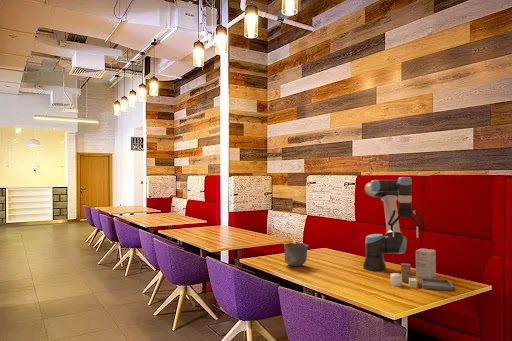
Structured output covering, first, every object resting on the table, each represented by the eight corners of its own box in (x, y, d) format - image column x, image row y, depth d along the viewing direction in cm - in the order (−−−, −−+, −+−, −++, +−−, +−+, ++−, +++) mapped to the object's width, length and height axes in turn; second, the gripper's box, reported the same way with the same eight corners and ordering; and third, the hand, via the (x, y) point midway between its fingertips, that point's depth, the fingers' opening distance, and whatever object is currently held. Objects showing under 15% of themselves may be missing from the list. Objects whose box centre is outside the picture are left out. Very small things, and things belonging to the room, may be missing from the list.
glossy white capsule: (390, 282, 223) (390, 272, 223) (401, 283, 221) (401, 273, 221) (390, 285, 217) (390, 275, 217) (402, 286, 215) (402, 276, 215)
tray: (419, 281, 226) (419, 277, 226) (448, 283, 221) (448, 279, 221) (423, 288, 211) (423, 284, 211) (454, 291, 206) (454, 287, 206)
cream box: (408, 284, 219) (408, 277, 220) (416, 285, 218) (415, 278, 218) (409, 287, 214) (409, 280, 214) (417, 288, 213) (417, 281, 213)
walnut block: (401, 279, 230) (400, 263, 230) (409, 280, 228) (409, 263, 228) (401, 281, 225) (401, 265, 225) (410, 282, 223) (410, 265, 223)
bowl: (312, 264, 268) (312, 243, 269) (303, 270, 253) (303, 248, 253) (289, 262, 277) (289, 241, 277) (280, 267, 261) (279, 245, 261)
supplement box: (421, 273, 243) (421, 247, 243) (436, 276, 236) (436, 249, 236) (415, 276, 236) (415, 250, 236) (430, 279, 229) (430, 252, 230)
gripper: (383, 202, 227) (383, 237, 227) (428, 203, 220) (428, 239, 219) (383, 201, 234) (383, 235, 234) (426, 202, 227) (426, 237, 226)
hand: (405, 237), depth 227 cm, fingers open, 13 cm apart
